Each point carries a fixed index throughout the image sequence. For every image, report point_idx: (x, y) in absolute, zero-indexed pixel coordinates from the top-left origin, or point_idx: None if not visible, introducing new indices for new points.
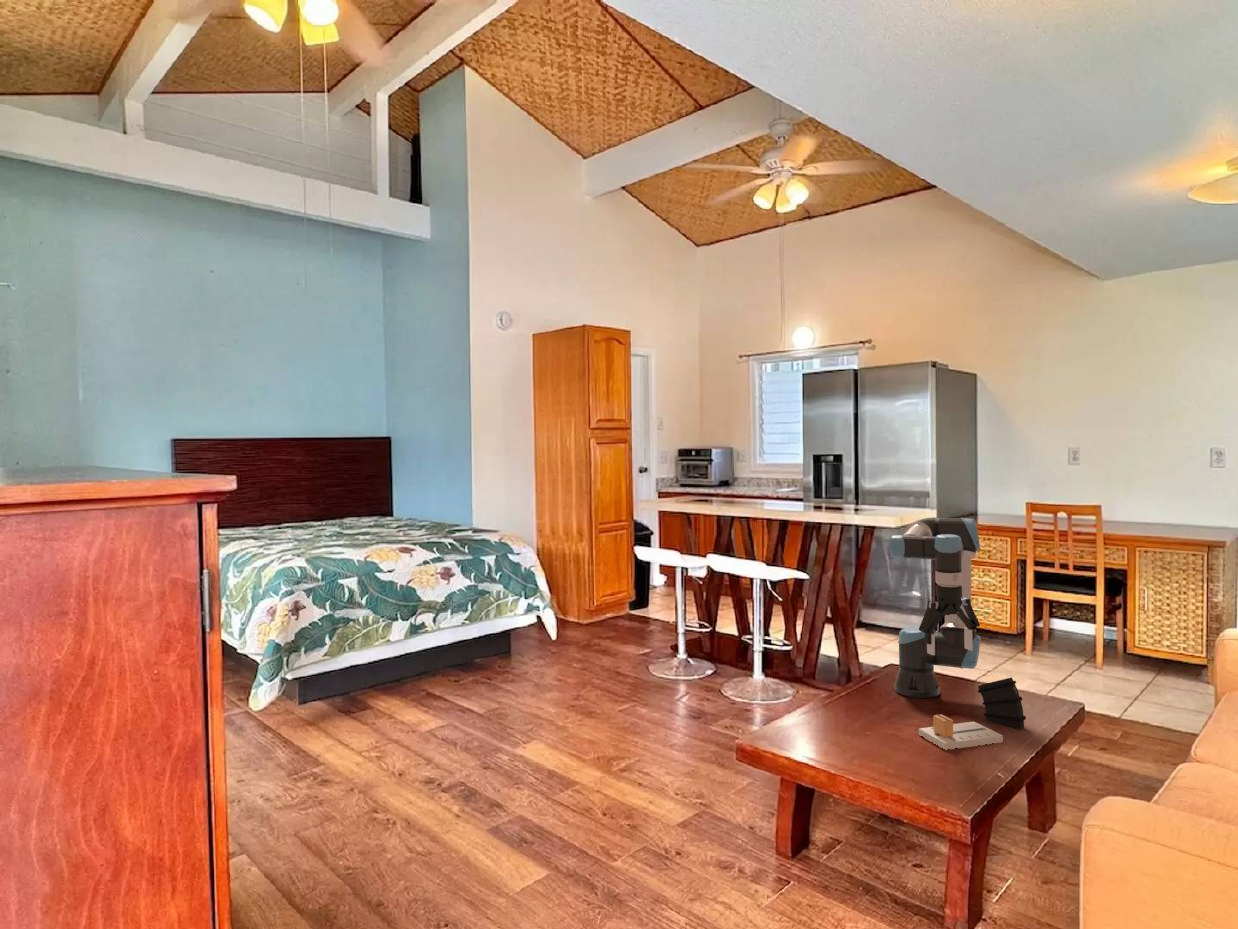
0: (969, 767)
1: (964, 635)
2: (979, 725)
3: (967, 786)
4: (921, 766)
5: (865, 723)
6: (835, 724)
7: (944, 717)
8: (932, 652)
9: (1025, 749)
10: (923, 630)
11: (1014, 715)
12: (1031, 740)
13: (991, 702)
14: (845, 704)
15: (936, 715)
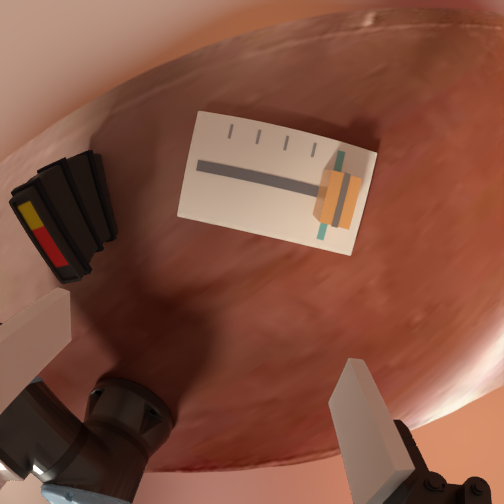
0: (397, 70)
1: (25, 385)
2: (188, 188)
3: (456, 40)
4: (469, 135)
5: (379, 355)
6: (425, 371)
7: (335, 198)
8: (367, 373)
9: (194, 64)
10: (488, 492)
11: (86, 165)
12: (133, 96)
13: (91, 226)
14: (317, 434)
15: (341, 224)
